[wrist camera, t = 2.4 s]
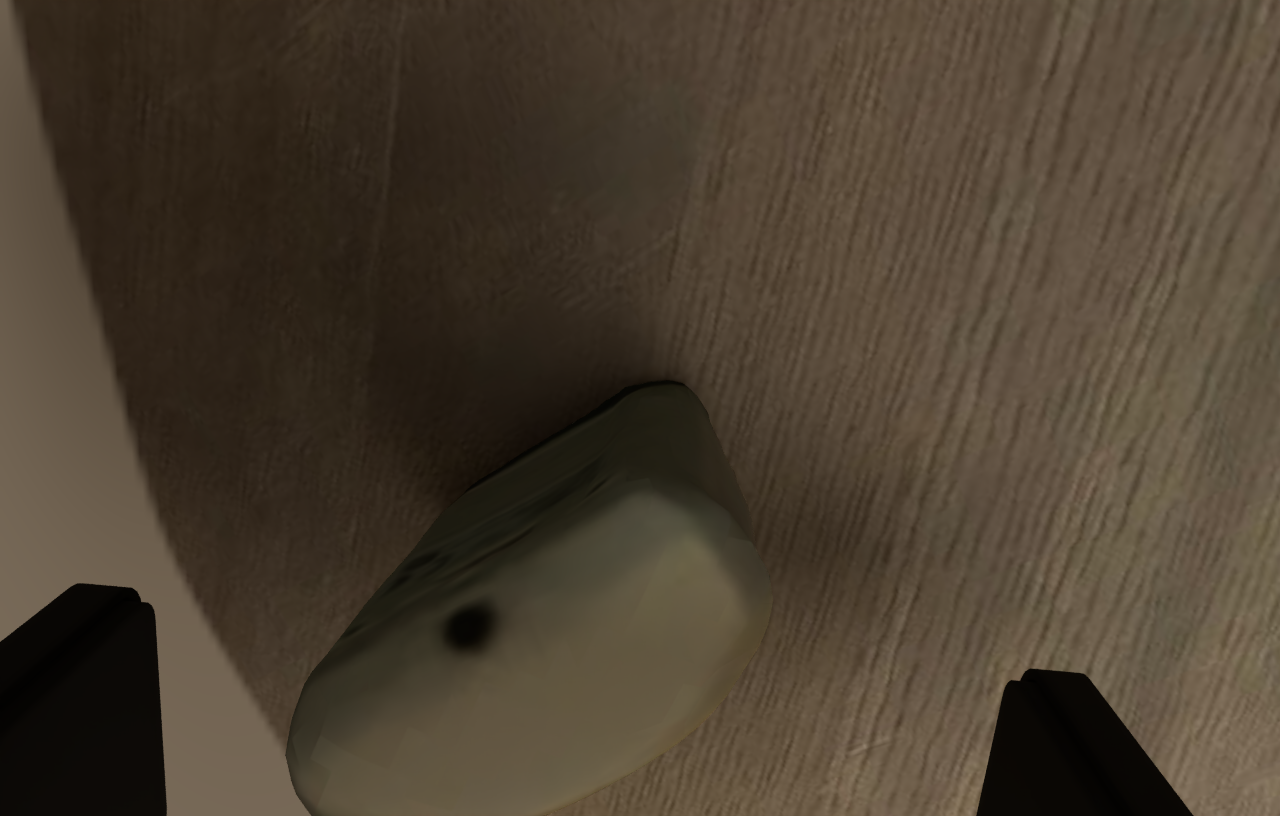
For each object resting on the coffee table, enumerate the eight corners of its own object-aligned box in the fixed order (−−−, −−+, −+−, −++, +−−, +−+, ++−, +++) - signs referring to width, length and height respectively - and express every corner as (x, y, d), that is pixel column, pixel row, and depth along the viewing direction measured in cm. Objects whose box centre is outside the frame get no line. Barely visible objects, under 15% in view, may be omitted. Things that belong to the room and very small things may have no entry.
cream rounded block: (522, 265, 17) (410, 399, 9) (793, 387, 17) (902, 609, 10) (405, 542, 18) (227, 854, 11) (657, 646, 19) (658, 1013, 11)
